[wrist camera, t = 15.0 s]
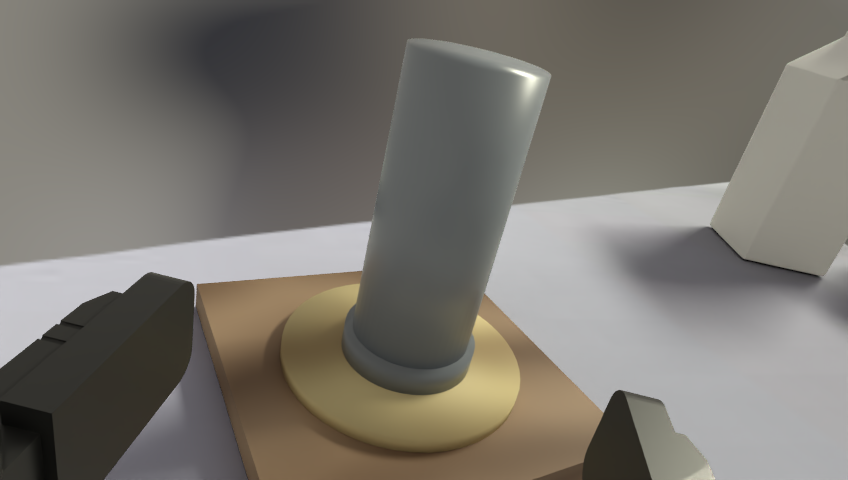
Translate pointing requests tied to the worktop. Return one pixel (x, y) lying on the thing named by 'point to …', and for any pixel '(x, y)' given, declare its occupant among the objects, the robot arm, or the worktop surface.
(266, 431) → the post base
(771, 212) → the milk carton
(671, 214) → the worktop surface
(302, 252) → the worktop surface
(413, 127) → the grey rounded cylinder
